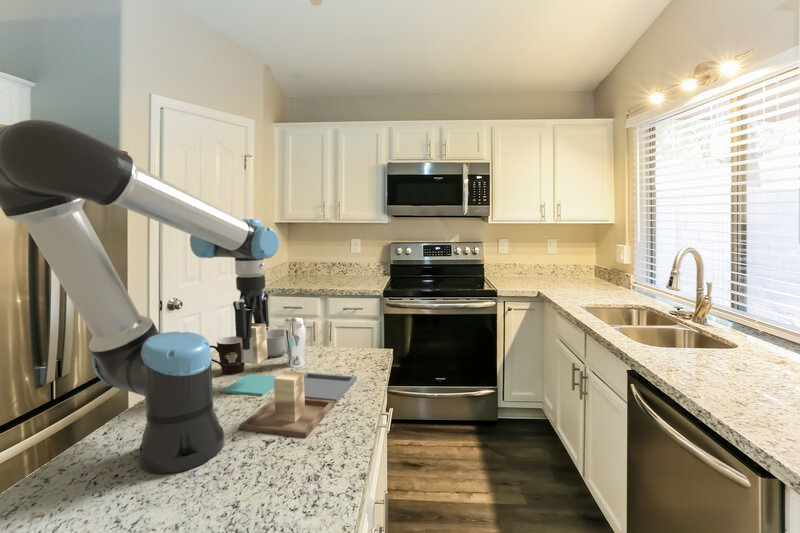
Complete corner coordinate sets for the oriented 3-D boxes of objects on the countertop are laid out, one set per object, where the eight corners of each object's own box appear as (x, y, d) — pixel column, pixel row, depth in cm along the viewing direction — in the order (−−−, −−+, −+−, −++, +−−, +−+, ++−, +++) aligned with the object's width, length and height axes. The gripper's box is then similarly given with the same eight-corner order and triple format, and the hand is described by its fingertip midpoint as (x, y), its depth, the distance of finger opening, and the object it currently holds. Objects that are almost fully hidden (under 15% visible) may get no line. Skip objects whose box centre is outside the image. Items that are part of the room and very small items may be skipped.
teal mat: (262, 396, 106) (262, 393, 106) (222, 392, 109) (222, 389, 109) (284, 379, 118) (284, 377, 118) (248, 376, 121) (248, 373, 121)
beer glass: (281, 367, 129) (279, 321, 127) (291, 360, 135) (290, 316, 134) (300, 368, 127) (299, 322, 126) (310, 361, 134) (309, 317, 132)
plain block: (295, 422, 92) (293, 380, 91) (275, 420, 93) (273, 378, 92) (304, 412, 97) (303, 372, 96) (286, 410, 98) (284, 371, 97)
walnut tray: (306, 438, 85) (306, 432, 85) (240, 430, 89) (239, 424, 89) (334, 405, 101) (334, 401, 101) (277, 399, 104) (277, 395, 104)
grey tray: (336, 403, 102) (336, 399, 102) (279, 398, 105) (279, 393, 105) (356, 380, 117) (356, 376, 117) (306, 376, 121) (306, 372, 121)
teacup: (296, 351, 145) (295, 329, 145) (279, 360, 135) (278, 337, 134) (262, 348, 149) (261, 327, 148) (244, 357, 139) (243, 334, 138)
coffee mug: (252, 366, 129) (251, 336, 128) (239, 376, 121) (238, 344, 120) (218, 365, 130) (217, 335, 129) (203, 375, 122) (201, 343, 121)
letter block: (257, 363, 110) (256, 328, 109) (241, 362, 111) (239, 327, 110) (267, 357, 115) (265, 323, 114) (252, 356, 116) (250, 322, 115)
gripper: (242, 280, 101) (247, 369, 103) (279, 271, 118) (282, 347, 121) (216, 279, 102) (222, 367, 105) (256, 271, 120) (260, 346, 122)
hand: (254, 356), depth 113 cm, fingers closed on letter block, 5 cm apart
